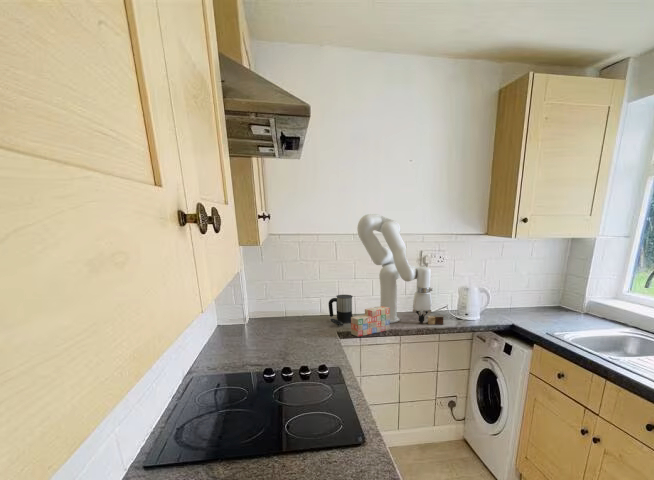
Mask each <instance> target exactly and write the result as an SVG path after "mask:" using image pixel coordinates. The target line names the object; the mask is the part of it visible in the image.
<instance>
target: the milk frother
mask: <svg viewBox="0 0 654 480" xmlns="http://www.w3.org/2000/svg"><path fill="white" fill-rule="evenodd" d="M334 302H335V303H336V319H335V318H334V307H333V306H334V305H333V303H334ZM328 312H329V313H328V314H329V317H330V319H329V320H330V322H331V323H332V324H335V325H337V326H343V325H344V324H348V323H351V317H353V295H351V294H337V295H335V297H332V298H330V299H329V301H328ZM332 317H333V318H332Z"/></svg>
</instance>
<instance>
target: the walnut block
mask: <svg viewBox="0 0 654 480" xmlns="http://www.w3.org/2000/svg"><path fill="white" fill-rule="evenodd" d="M434 316H435V326H438V325H441V326H442V325H444V318H445V317H444V315H443V314H434Z"/></svg>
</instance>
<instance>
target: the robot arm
mask: <svg viewBox="0 0 654 480" xmlns="http://www.w3.org/2000/svg"><path fill="white" fill-rule="evenodd" d="M356 228H357V229H356V230H357V235H358V237H359V239H360V241H361V244H362V245H363V246H364V248H365V250H366V252H367V254H368V255H369V257H370V259H371V261H372V263H373V264H374V265H376V266H381V269H380V270H379V275H378V276H379V278H378V279H379V287H380V290H379V292H380V293H379V294H380V306H379V307H381V306H384V307H388V308H390V324H392V323H393V324H394V323H397V322H400V317H398V315H397V313H398V285H397V280H399V279H400V278H401V279H402V280H403V281H404V282H406V283H407V282H408V283H409V282H411V281H413V280H416V289H415V291H414V295H413V300H412V301H413V302H412V313H414V314H417V316H418V322H419V324H423V323H424V322H425V316H426V315H427V314H430V313H432V293H431V292H432V291H433V287H431V281H432V280H431V279H432V269H431V267H428V266H417V265H410V263H409V261H408V258H407V254H406V253H407V245H406V243H405V241H404V239H403V237H402V235H401V231H402V229H401V225H400V223H399V222H398V221H397V220H393V219H391V218H388V217H385V216H382V215H380V214H376V213H370V214H365V215H363V216H362V217H361V218H360V219H359V220H358V223H357V227H356ZM374 231H376V232H379V233H381V234H382V236H383V238H384V240H385V242H386V244H387V246H388V247H387V246H383V245H382V244H381V242H380V241H379V239H378V237H377V235H376V234H375V233H374Z"/></svg>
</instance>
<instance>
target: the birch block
mask: <svg viewBox="0 0 654 480" xmlns="http://www.w3.org/2000/svg"><path fill="white" fill-rule="evenodd" d="M427 325H433V326H434V325H435V315H427ZM435 326H436V325H435Z"/></svg>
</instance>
